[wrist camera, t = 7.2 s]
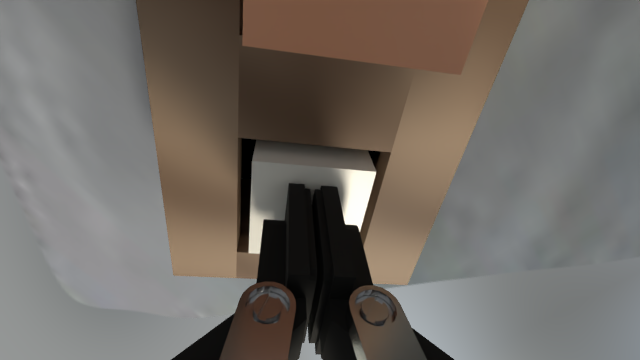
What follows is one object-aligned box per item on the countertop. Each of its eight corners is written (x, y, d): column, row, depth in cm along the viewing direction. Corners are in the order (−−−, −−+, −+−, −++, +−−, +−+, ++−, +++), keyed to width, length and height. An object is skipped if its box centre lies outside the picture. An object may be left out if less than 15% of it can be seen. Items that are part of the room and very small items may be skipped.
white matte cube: (261, 112, 14) (251, 160, 10) (356, 122, 14) (376, 171, 11) (257, 191, 16) (248, 253, 12) (339, 197, 16) (352, 258, 13)
